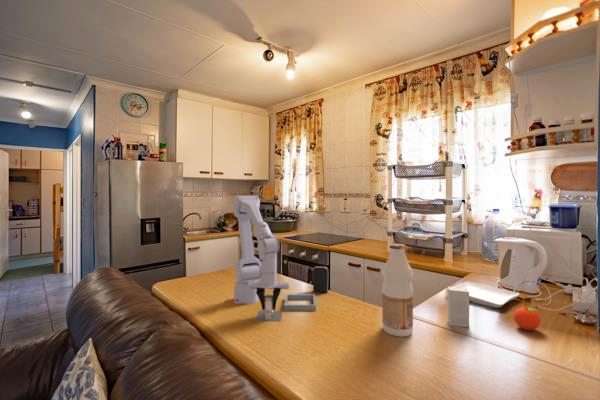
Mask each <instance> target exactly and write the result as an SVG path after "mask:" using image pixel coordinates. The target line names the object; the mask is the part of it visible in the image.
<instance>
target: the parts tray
mask: <svg viewBox="0 0 600 400" xmlns="http://www.w3.org/2000/svg"><path fill="white" fill-rule="evenodd" d="M284 299H285V300H284V303H283V311H287V312H288V311H291V312H292V311H293V312H294V311H298V312H301V311H304V312H305V311H307V312H309V311H315V312H317V304H316V303H317V302H316V294H314V293H313V294H312V293H311V294H310V293H309V294H305V293H304V294H301V293H299V294H296V293H295V294H292V293H291V294H285V298H284ZM290 300H291V301H294V300H295V301H296V300H297V301H300V300H301V301H308V300H309V301H313V302H312V303H313V304H288V302H289V301H290Z"/></svg>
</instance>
